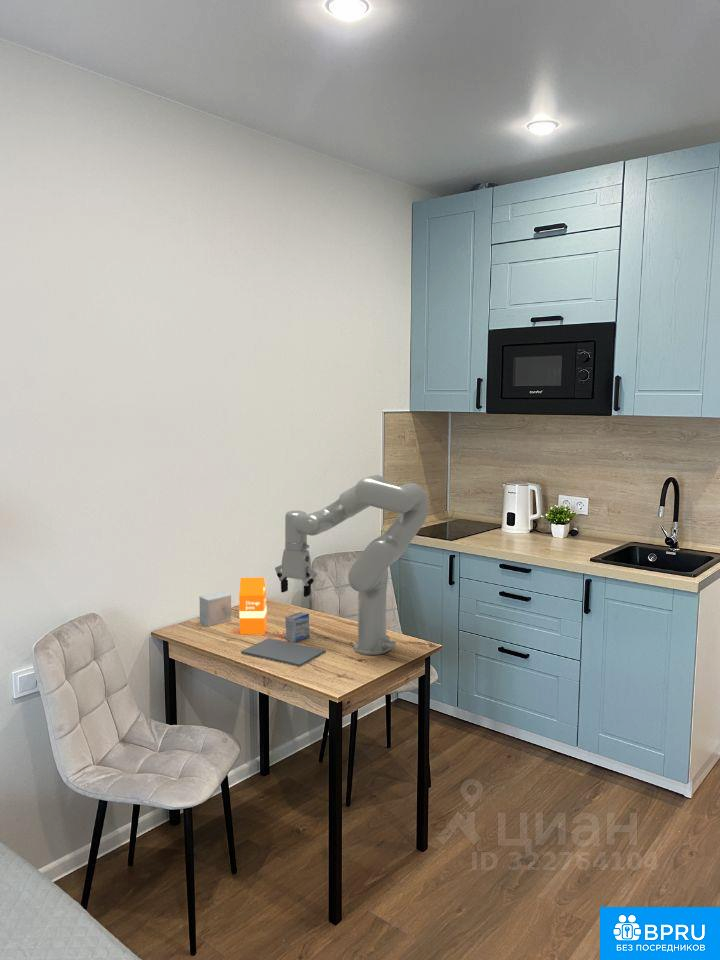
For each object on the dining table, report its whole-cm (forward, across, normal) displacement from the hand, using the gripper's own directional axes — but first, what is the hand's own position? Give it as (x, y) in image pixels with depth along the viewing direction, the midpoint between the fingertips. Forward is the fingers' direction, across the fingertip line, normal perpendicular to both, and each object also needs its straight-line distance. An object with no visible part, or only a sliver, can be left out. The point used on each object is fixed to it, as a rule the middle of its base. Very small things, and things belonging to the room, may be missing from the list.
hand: (295, 593), depth 254 cm
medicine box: (+16, -1, 0) cm, 17 cm away
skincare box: (+17, +37, 0) cm, 41 cm away
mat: (+16, -5, +14) cm, 22 cm away
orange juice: (+17, +18, +1) cm, 25 cm away
